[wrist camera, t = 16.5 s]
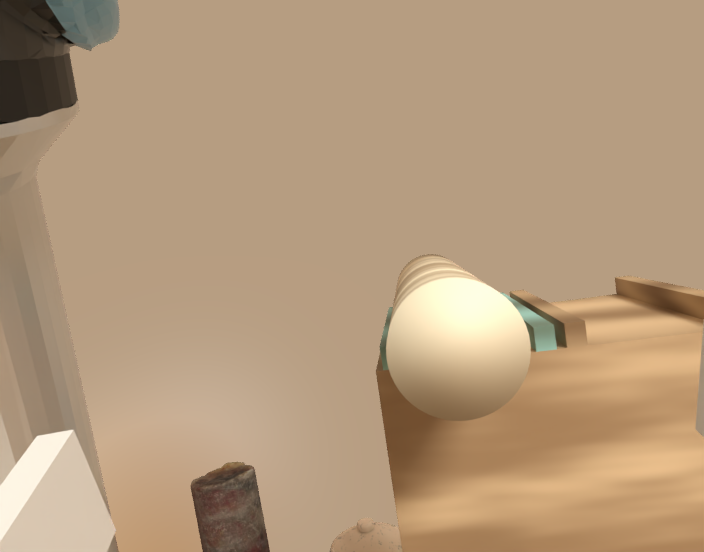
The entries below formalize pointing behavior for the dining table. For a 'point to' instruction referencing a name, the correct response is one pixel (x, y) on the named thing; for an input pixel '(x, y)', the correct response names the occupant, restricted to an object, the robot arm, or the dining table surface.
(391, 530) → the teacup with lid
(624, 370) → the tall wooden crate
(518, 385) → the cream rounded cylinder
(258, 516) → the brown upright cylinder
